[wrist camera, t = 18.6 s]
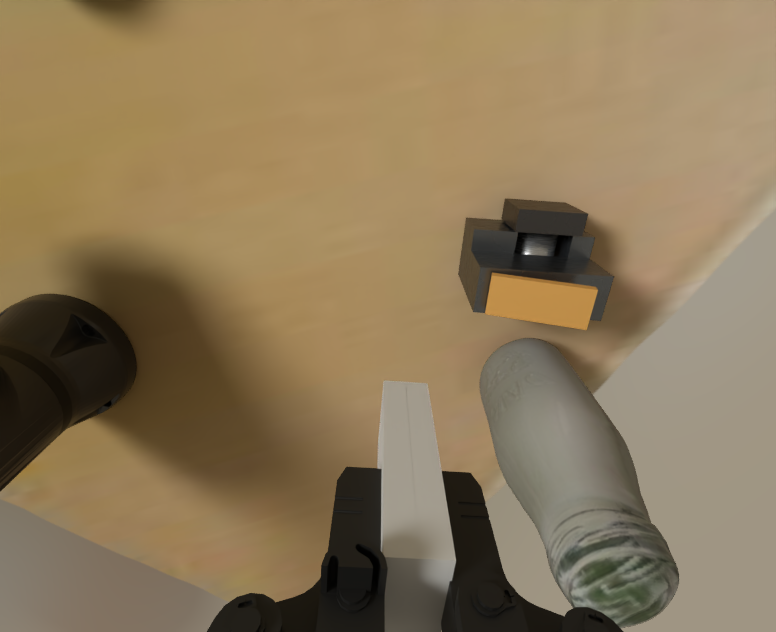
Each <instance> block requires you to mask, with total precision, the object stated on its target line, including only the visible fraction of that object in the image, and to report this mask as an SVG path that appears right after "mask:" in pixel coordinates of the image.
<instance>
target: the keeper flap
mask: <svg viewBox="0 0 776 632" xmlns="http://www.w3.org/2000/svg"><path fill="white" fill-rule="evenodd" d="M597 292H598V289H597V288H596V287H594V286H586V285H579V284H572V283H565V282H557V281H550V280H543V279H536V278H528V277H521V276H514V275H507V274H499V273H492V276H491V281H490V287H489V293H488V299H487V304H486V310H485V314H487V315H494V316H500V317H506V318H513V319H519V320H525V321H532V322H538V323H545V324H551V325H557V326H564V327H570V328H576V329H583V330H587V327H588V324H589V320H590V317H591V313H592V309H593V306H594V302H595V299H596V295H597Z"/></svg>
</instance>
